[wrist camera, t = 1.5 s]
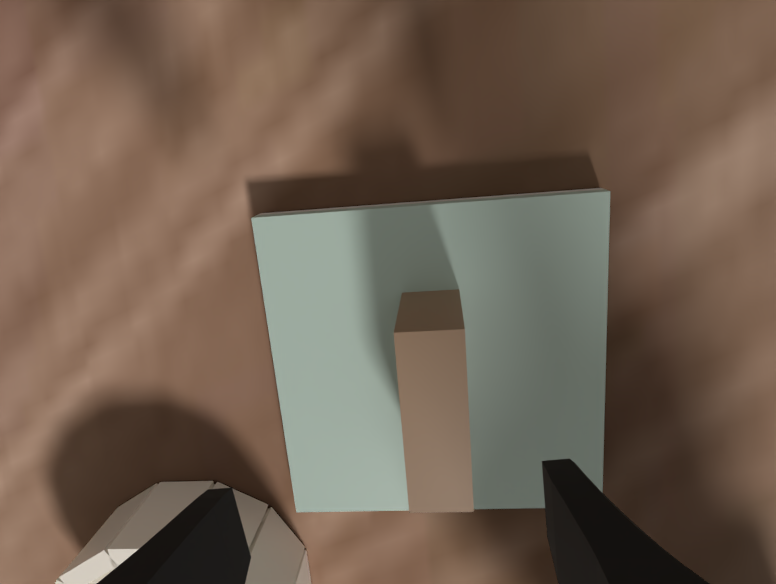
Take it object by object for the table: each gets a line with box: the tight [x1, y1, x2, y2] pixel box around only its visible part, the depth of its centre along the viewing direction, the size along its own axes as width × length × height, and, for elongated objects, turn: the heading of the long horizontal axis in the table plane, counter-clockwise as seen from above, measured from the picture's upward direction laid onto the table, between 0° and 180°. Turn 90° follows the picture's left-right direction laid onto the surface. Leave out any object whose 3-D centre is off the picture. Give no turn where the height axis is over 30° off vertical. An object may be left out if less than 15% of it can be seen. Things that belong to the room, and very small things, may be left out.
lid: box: [251, 189, 610, 513], centre depth 19 cm, size 12×12×5 cm
